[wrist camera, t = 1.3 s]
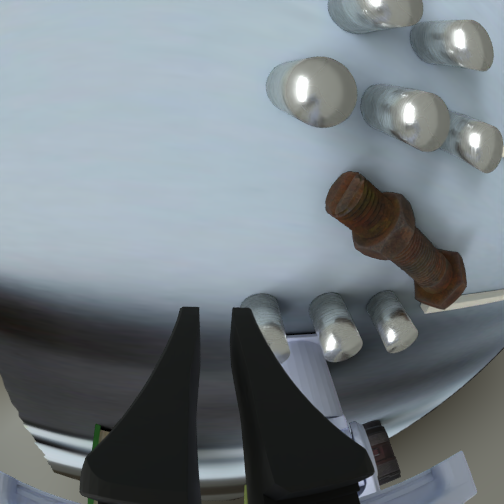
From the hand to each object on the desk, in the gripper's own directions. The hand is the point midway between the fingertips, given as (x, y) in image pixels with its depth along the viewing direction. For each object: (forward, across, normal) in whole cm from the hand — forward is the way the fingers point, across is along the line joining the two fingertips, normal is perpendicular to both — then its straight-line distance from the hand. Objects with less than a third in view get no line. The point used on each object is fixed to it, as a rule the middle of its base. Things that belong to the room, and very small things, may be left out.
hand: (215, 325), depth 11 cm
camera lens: (+10, -32, +48) cm, 58 cm away
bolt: (+10, -14, 0) cm, 17 cm away
